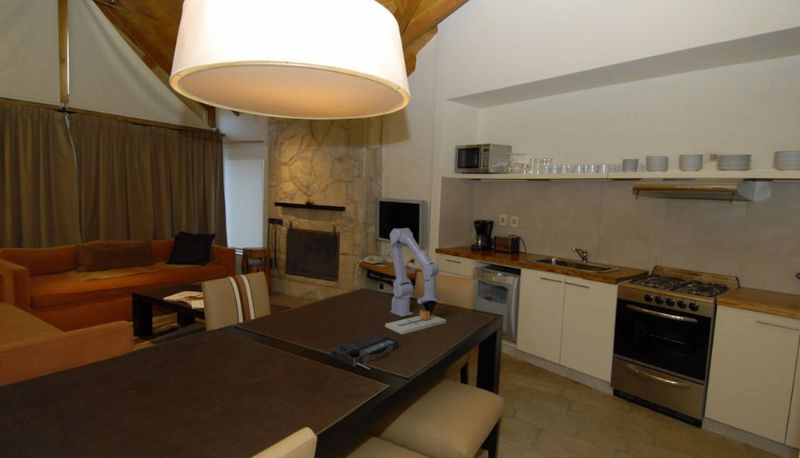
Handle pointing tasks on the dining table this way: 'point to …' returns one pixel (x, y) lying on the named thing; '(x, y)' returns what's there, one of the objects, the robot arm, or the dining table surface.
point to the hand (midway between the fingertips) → (428, 315)
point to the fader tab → (424, 314)
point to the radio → (365, 349)
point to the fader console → (414, 324)
